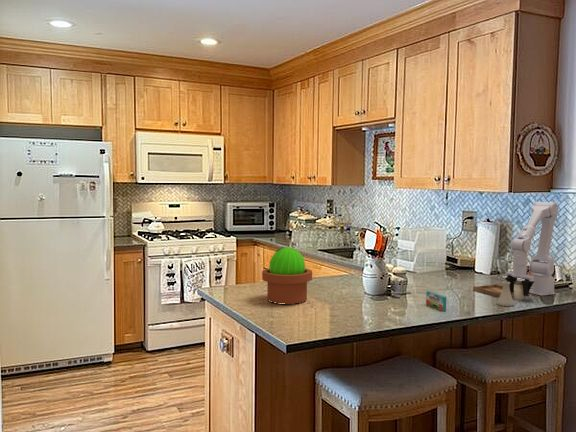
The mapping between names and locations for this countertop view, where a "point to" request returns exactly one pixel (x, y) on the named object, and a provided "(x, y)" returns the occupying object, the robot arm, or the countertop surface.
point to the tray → (490, 290)
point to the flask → (505, 296)
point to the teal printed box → (436, 300)
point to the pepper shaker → (518, 290)
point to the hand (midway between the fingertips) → (518, 294)
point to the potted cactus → (287, 277)
